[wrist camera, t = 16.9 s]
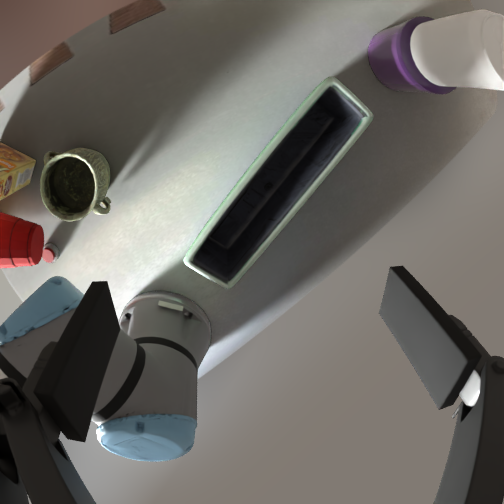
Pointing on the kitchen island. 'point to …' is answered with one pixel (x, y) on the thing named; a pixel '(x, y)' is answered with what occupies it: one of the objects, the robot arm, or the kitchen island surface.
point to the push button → (50, 253)
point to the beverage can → (461, 50)
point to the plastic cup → (19, 242)
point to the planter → (279, 182)
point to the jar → (400, 60)
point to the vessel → (75, 183)
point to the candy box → (14, 170)
